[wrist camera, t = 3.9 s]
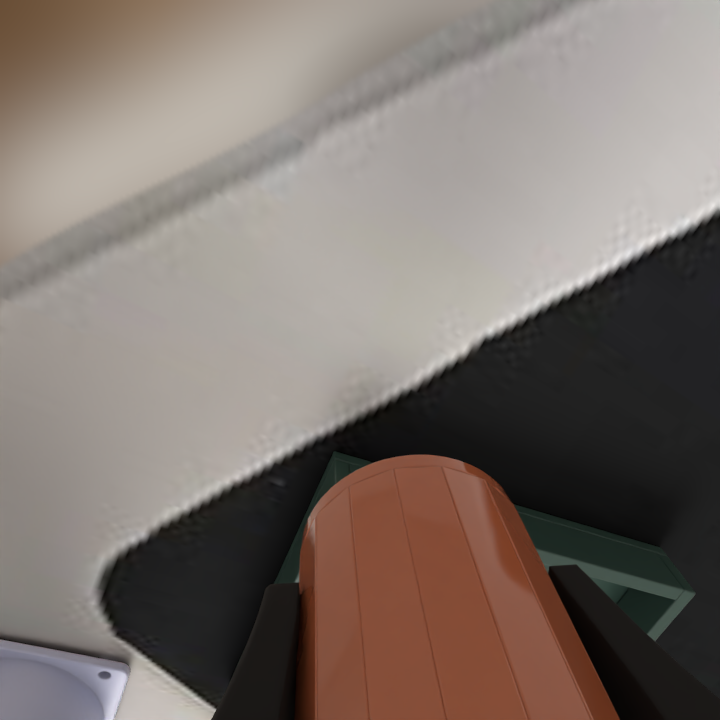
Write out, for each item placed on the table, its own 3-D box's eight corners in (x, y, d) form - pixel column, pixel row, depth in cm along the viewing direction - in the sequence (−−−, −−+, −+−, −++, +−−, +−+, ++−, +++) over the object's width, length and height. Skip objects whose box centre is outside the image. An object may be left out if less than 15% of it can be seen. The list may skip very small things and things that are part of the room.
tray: (228, 682, 26) (220, 738, 23) (333, 450, 21) (335, 492, 18) (510, 736, 29) (527, 789, 27) (661, 547, 24) (697, 593, 22)
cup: (272, 595, 14) (242, 944, 8) (349, 425, 12) (380, 726, 6) (458, 637, 15) (547, 969, 9) (556, 488, 13) (745, 792, 7)
